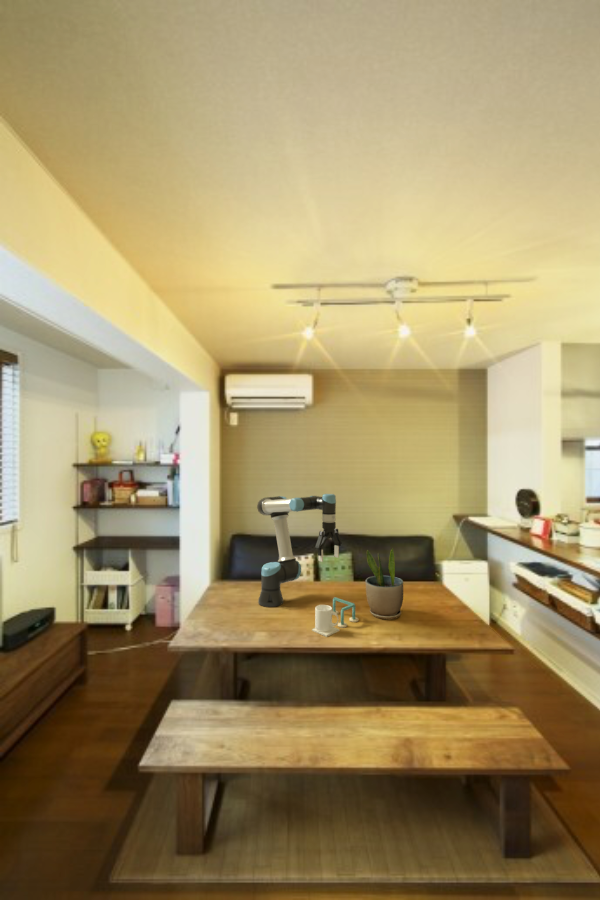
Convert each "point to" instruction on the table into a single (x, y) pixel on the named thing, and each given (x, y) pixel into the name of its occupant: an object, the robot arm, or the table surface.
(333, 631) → the coaster
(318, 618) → the mug
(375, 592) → the potted plant
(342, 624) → the wire course
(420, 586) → the table surface
